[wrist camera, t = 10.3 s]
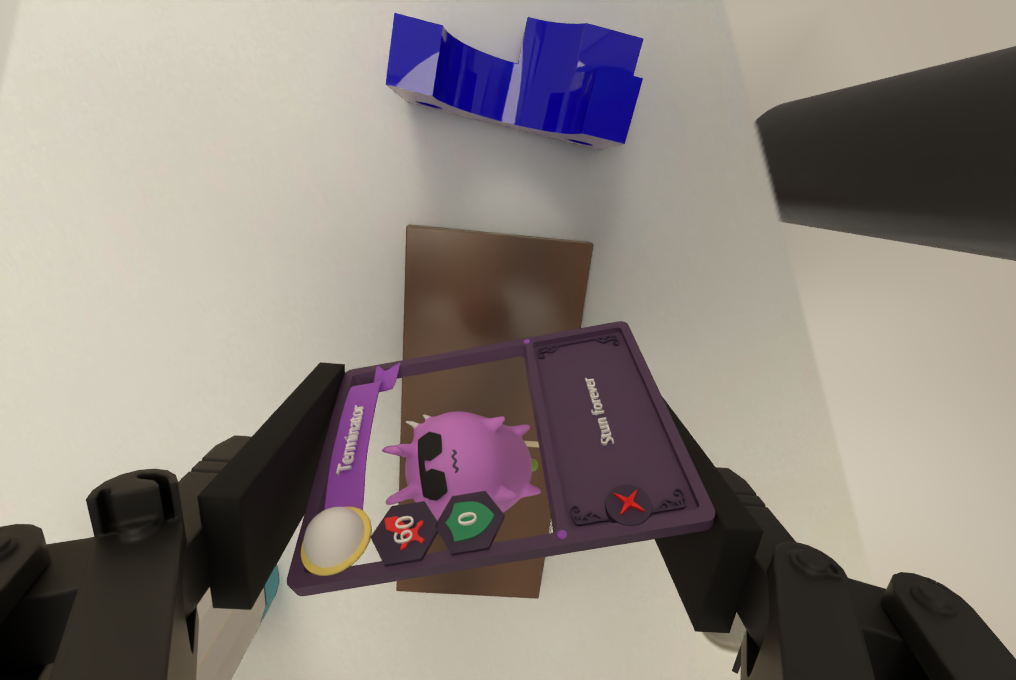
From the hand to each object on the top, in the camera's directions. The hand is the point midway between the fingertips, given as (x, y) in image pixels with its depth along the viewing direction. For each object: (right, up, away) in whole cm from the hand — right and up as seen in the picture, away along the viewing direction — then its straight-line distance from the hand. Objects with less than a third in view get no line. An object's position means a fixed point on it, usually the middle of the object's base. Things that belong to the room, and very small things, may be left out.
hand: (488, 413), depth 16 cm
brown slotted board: (-1, -2, +8) cm, 9 cm away
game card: (0, 0, 0) cm, 1 cm away
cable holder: (+1, +13, +3) cm, 13 cm away
